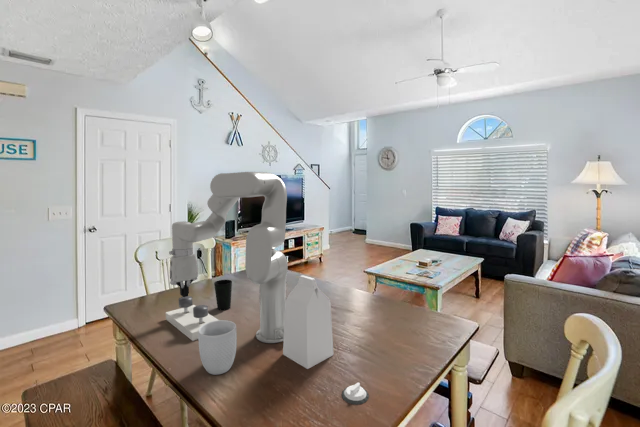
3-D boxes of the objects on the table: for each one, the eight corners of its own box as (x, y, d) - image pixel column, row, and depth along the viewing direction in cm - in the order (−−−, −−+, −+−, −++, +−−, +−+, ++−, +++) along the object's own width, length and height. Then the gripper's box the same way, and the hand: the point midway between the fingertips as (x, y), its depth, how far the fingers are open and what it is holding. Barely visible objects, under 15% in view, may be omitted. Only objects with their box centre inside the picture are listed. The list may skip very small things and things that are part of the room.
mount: (223, 330, 126) (223, 322, 125) (192, 341, 117) (192, 332, 117) (194, 311, 144) (194, 304, 144) (165, 319, 136) (165, 312, 136)
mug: (207, 353, 109) (206, 315, 107) (241, 351, 110) (240, 314, 109) (195, 380, 94) (193, 337, 93) (234, 378, 95) (233, 335, 94)
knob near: (210, 322, 126) (210, 307, 125) (197, 326, 122) (196, 311, 121) (204, 318, 129) (203, 303, 129) (191, 322, 126) (190, 307, 125)
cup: (235, 305, 151) (234, 279, 150) (229, 311, 144) (228, 285, 142) (219, 304, 152) (218, 279, 151) (212, 311, 144) (211, 284, 143)
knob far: (194, 312, 135) (194, 298, 135) (182, 316, 132) (181, 301, 131) (189, 308, 139) (189, 295, 139) (177, 312, 136) (176, 298, 135)
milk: (282, 354, 108) (281, 277, 106) (308, 342, 116) (308, 270, 114) (307, 369, 100) (306, 285, 97) (333, 354, 108) (333, 277, 105)
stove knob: (336, 398, 87) (336, 388, 86) (351, 384, 92) (351, 375, 92) (359, 410, 82) (360, 399, 82) (374, 395, 88) (374, 384, 88)
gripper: (167, 256, 125) (169, 303, 127) (204, 251, 136) (206, 294, 137) (160, 253, 130) (162, 298, 132) (196, 248, 141) (198, 289, 143)
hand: (184, 296), depth 135 cm, fingers closed
